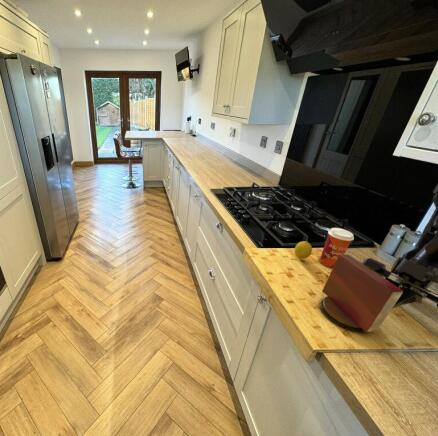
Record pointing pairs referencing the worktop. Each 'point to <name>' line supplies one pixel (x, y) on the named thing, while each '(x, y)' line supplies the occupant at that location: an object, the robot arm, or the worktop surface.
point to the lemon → (303, 250)
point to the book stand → (358, 295)
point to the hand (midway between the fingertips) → (384, 309)
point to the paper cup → (335, 246)
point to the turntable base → (339, 322)
